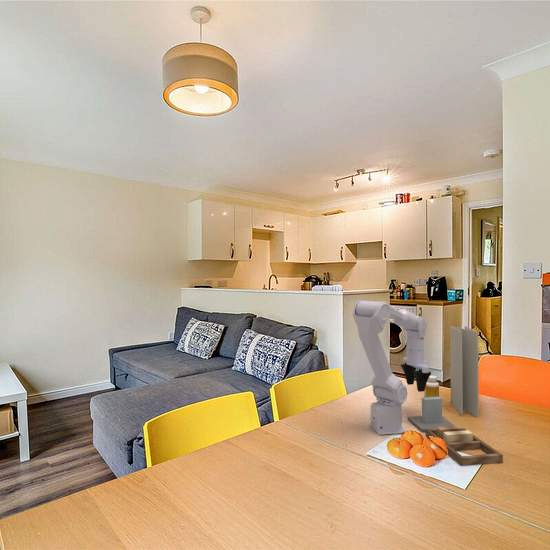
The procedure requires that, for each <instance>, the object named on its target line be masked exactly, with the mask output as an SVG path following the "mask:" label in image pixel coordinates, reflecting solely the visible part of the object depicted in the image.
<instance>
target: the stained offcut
mask: <svg viewBox="0 0 550 550" xmlns="http://www.w3.org/2000/svg"><path fill="white" fill-rule="evenodd" d="M465 430H466V427H465V426H463V425H455V426H445V427H437V436H438V437H439V438H441V439H443V432H451V431H465Z"/></svg>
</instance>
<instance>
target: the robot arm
mask: <svg viewBox="0 0 550 550" xmlns="http://www.w3.org/2000/svg"><path fill="white" fill-rule="evenodd" d="M352 316H353V318H354V322H355V324H356V326H357V333H358V336H359V340H360V342H361V344H362V347H363V349H364V352H365V354H366V357H367V359H368V362H369V364H370V367H371V369H372V372H373V374H374V377H373V378H372V379H371V386H372V393H373V396H374V397H375V398H376V399H375V400H376V402H371V404H370V422H369V426H371V428H372V429H373V430H374V431H375V432H376V433H377V435H380V436H382V435H396V434H397V435H398V434H399V435H400V434H404V433H403V432H405V431H407V430H406V429H405V428H404V427H403V425H402V422H403V421H402V420H403V419H402V418H403V417H402V414H403V413H402V405H403V404H404V403H405V402H406V400H407V398H408V389H407V386H406V385H405V384H404V383H403V382H402V379H401V378H400V377H398V376H396V375H395V373H393V370H392V369H391V366H390V365H391V364H390V363H389V360H388V357H387V355H386V353H385V350H384V347H383V345H382V342H381V339H380V336H379V334H380V333H382V332H383V330H384V328H385V326H386V324H387V321H388V319H391V320H393V323H394V324H395V325H397V326H400V327H401V328H403V330H404V331H405V334H406V337H405V338H406V356H403V357H402V358H403V360H402V362H403V364H402V363H401V364H400V367H401V369H402V371H403V373H404V374H403V375H404V376H405V380H406V381H405V382H406V384H407V385H408V386H410V385H411V386H413V385H414V384H415V381H416V389H417V392H419V393H420V392H424V391H425V387H426V383H427V380H428V378H429V377H430V375H432V371H430V370H429V369H430V367H429V366H428V365H427V364H428V361H427V360H425V357H424V356H425V349H424V347H425V340H424V339H425V337H426V331H427V328H428V323H427V320H426V318H425V317H424V316H421V315H416V313H415V312H410V311H409V309H408V308H404V307H402V308H400V309H397V308H395V307H394V306H393V305H391V303H389V302H386V301H374V300H373V301H370V300H362V299H360V300H357V301H356V303H355V304H354V306H353V311H352Z"/></svg>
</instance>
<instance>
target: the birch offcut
mask: <svg viewBox="0 0 550 550" xmlns="http://www.w3.org/2000/svg"><path fill="white" fill-rule="evenodd" d="M465 430H466V431H451V432H443V440H444V441H445V442H446V443H456V442H471V441H473V435H474V433H473V432H472V431H470V430H468V429H465Z"/></svg>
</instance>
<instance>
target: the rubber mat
mask: <svg viewBox="0 0 550 550" xmlns="http://www.w3.org/2000/svg"><path fill="white" fill-rule="evenodd" d="M407 421H408V422H409V423H410V424H412V425H413V426H414V427H415V428H416V429H418V431H420V432H421V433H422V434H424V433H425V434H426V429H435V428H437V427H445V426H456V425H455V424H453V423H452V422H451V421H450V420H448V419H446V418H445V417H443V416H442V423H429V424H425V423H424V422H422V415H421V416H407Z"/></svg>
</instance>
